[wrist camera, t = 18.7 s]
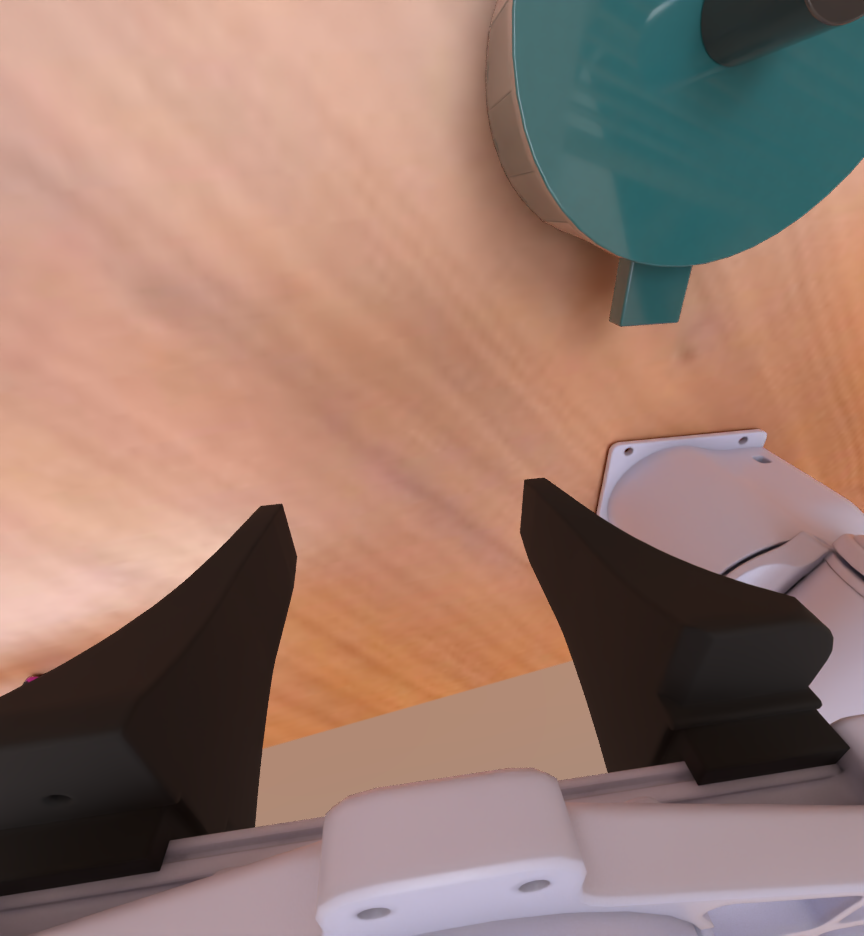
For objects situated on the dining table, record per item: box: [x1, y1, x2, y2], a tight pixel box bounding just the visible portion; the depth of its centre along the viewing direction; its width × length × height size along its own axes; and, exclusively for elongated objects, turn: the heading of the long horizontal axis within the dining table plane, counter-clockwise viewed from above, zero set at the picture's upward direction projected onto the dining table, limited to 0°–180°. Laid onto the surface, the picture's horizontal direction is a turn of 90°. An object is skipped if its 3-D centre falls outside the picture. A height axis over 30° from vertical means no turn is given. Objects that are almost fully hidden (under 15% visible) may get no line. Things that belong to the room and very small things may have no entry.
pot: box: [486, 0, 692, 327], centre depth 14 cm, size 11×17×5 cm
